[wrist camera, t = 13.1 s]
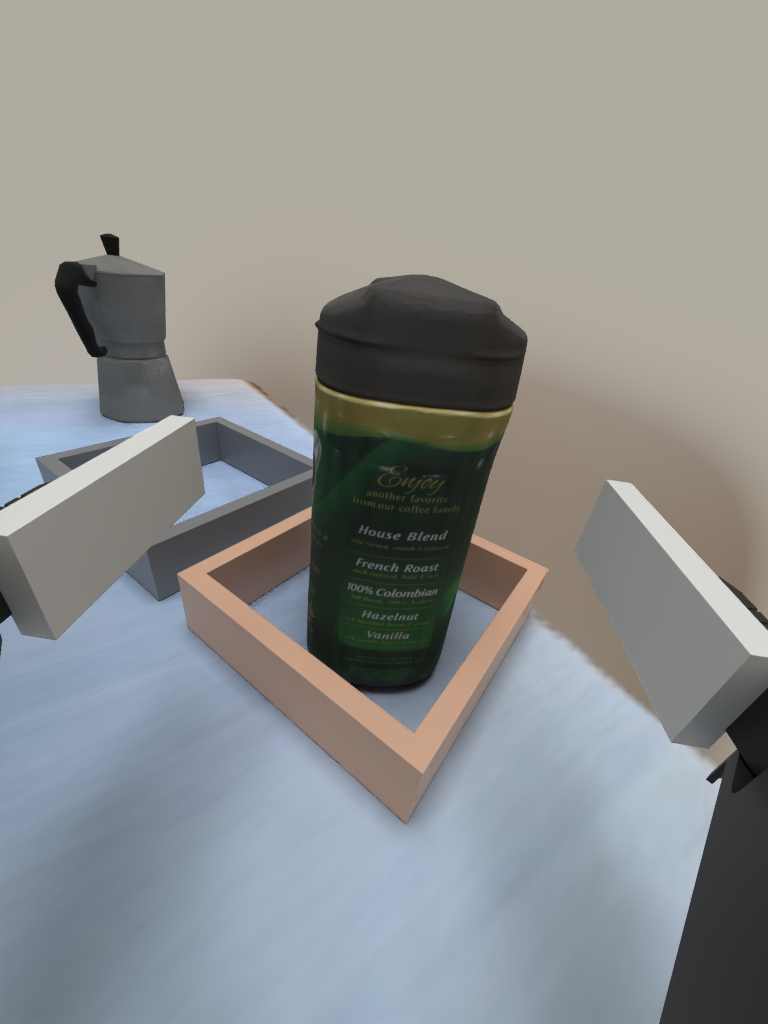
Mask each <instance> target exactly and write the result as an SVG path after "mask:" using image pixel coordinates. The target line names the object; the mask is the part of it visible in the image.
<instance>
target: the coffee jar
mask: <svg viewBox="0 0 768 1024" xmlns="http://www.w3.org/2000/svg"><path fill="white" fill-rule="evenodd" d="M315 326H316V327H317V328H318V341H317V356H316V369H315V371H316V377H315V379H316V380H315V413H314V414H315V415H314V451H313V481H312V514H311V552H310V575H309V591H308V620H307V647H308V651H309V653H310V654H312V655H313V656H314V657H316V658H317V659H318V660H319V661H321V662H322V663H323V664H325V665H326V666H327V667H329V668H330V669H331V670H332V671H334V672H335V673H336V674H338V675H339V676H340V677H342V678H343V679H344V680H345V681H347V682H350V683H354V684H360V685H367V686H399V685H406V684H411V683H414V682H417V681H419V680H421V679H423V678H425V677H426V676H427V675H429V674H430V673H431V672H432V671H433V669H434V668H435V666H436V664H437V662H438V660H439V657H440V654H441V650H442V647H443V643H444V640H445V636H446V632H447V628H448V625H449V621H450V617H451V613H452V610H453V606H454V602H455V597H456V593H457V589H458V586H459V582H460V578H461V575H462V571H463V567H464V564H465V560H466V556H467V553H468V549H469V546H470V542H471V538H472V534H473V531H474V528H475V525H476V521H477V517H478V513H479V510H480V505H481V502H482V499H483V495H484V492H485V488H486V485H487V481H488V477H489V474H490V471H491V468H492V465H493V461H494V458H495V456H496V453H497V450H498V447H499V445H500V442H501V439H502V437H503V435H504V432H505V429H506V427H507V424H508V422H509V419H510V416H511V413H512V410H513V402H514V400H515V398H516V393H517V389H518V384H519V380H520V375H521V371H522V366H523V361H524V356H525V352H526V347H527V341H528V340H527V335H526V333H525V332H524V331H523V330H522V329H521V328H520V327H519V326H517V325H516V324H515V323H514V322H512V321H511V320H510V319H509V318H507V317H506V316H505V315H504V314H503V313H502V311H501V309H500V307H499V305H498V304H497V303H496V302H495V301H493V300H491V299H489V298H487V297H484V296H481V295H479V294H476V293H474V292H471V291H469V290H467V289H464V288H462V287H460V286H457V285H455V284H453V283H451V282H448V281H446V280H444V279H441V278H437V277H433V276H428V275H404V276H396V277H387V278H377V279H375V280H374V281H373V282H372V283H371V284H370V285H368V286H366V287H363V288H360V289H357V290H354V291H352V292H349V293H347V294H344V295H342V296H339V297H338V298H336V299H334V300H332V301H330V302H329V303H328V304H326V305H325V306H324V308H323V309H322V311H321V314H320V319H319V320H318V321H317V322H316V323H315Z"/></svg>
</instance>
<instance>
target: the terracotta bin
mask: <svg viewBox="0 0 768 1024" xmlns="http://www.w3.org/2000/svg"><path fill="white" fill-rule="evenodd" d="M311 514H312V506H311V507H309V508H307V509H305V510H303V511H301V512H299V513H297V514H295V515H293V516H291V517H289V518H287V519H285V520H283V521H281V522H279V523H277V524H275V525H273V526H271V527H269V528H267V529H265V530H263V531H261V532H259V533H257V534H255V535H253V536H251V537H249V538H247V539H245V540H243V541H241V542H239V543H237V544H235V545H233V546H231V547H229V548H227V549H225V550H223V551H221V552H219V553H217V554H215V555H213V556H211V557H209V558H207V559H205V560H203V561H201V562H199V563H197V564H195V565H193V566H191V567H189V568H187V569H185V570H183V571H181V572H179V573H177V576H178V581H179V586H180V591H181V595H182V600H183V605H184V610H185V615H186V620H187V624H188V628H189V629H191V630H192V631H193V632H194V633H195V634H196V635H197V636H198V637H199V638H201V639H202V640H203V641H204V642H205V643H206V644H207V645H208V646H209V647H210V648H212V649H213V650H214V651H215V652H216V653H217V654H218V655H219V656H220V657H222V658H223V659H224V660H225V661H226V662H227V663H228V664H229V665H230V666H232V667H233V668H234V669H235V670H236V671H237V672H238V673H239V674H240V675H242V676H243V677H244V678H245V679H246V680H247V681H248V682H249V683H250V684H251V685H253V686H254V687H255V688H256V689H257V690H258V691H259V692H260V693H261V694H263V695H264V696H265V697H266V698H267V699H268V700H269V701H270V702H271V703H273V704H274V705H275V706H276V707H277V708H278V709H279V710H280V711H281V712H283V713H284V714H285V715H286V716H287V717H288V718H289V719H290V720H291V721H292V722H294V723H295V724H296V725H297V726H298V727H299V728H300V729H301V730H302V731H304V732H305V733H306V734H307V735H308V736H309V737H310V738H311V739H312V740H314V741H315V742H316V743H317V744H318V745H319V746H320V747H321V748H322V749H323V750H325V751H326V752H327V753H328V754H329V755H330V756H331V757H332V758H333V759H335V760H336V761H337V762H338V763H339V764H340V765H341V766H342V767H343V768H345V769H346V770H347V771H348V772H349V773H350V774H351V775H352V776H353V777H355V778H356V779H357V780H358V781H359V782H360V783H361V784H362V785H363V786H364V787H366V788H367V789H368V790H369V791H370V792H371V793H372V794H373V795H374V796H376V797H377V798H378V799H379V800H380V801H381V802H382V803H383V804H384V805H386V806H387V807H388V808H389V809H390V810H391V811H392V812H393V813H394V814H395V815H397V816H398V817H399V818H400V819H401V820H402V821H403V822H404V823H405V824H406V823H407V822H408V820H409V818H410V816H411V815H412V813H413V811H414V810H415V808H416V806H417V805H418V803H419V801H420V799H421V798H422V796H423V794H424V793H425V791H426V789H427V788H428V786H429V784H430V782H431V781H432V779H433V777H434V776H435V774H436V772H437V771H438V769H439V767H440V765H441V764H442V762H443V760H444V759H445V757H446V755H447V754H448V752H449V750H450V748H451V747H452V745H453V743H454V742H455V740H456V738H457V737H458V735H459V733H460V732H461V730H462V728H463V726H464V725H465V723H466V721H467V720H468V718H469V716H470V715H471V713H472V711H473V709H474V708H475V706H476V704H477V703H478V701H479V699H480V698H481V696H482V694H483V692H484V691H485V689H486V687H487V686H488V684H489V682H490V681H491V679H492V677H493V675H494V674H495V672H496V670H497V669H498V667H499V665H500V664H501V662H502V660H503V658H504V657H505V655H506V653H507V652H508V650H509V648H510V647H511V645H512V643H513V642H514V640H515V638H516V636H517V635H518V633H519V631H520V630H521V628H522V626H523V625H524V623H525V621H526V619H527V618H528V616H529V614H530V612H531V609H532V607H533V605H534V603H535V600H536V598H537V596H538V593H539V591H540V589H541V586H542V584H543V582H544V579H545V577H546V575H547V573H548V570H549V569H547V568H545V567H543V566H541V565H538V564H536V563H534V562H532V561H530V560H528V559H526V558H523V557H521V556H519V555H517V554H515V553H513V552H511V551H508V550H506V549H504V548H502V547H500V546H498V545H495V544H493V543H491V542H489V541H487V540H485V539H482V538H480V537H478V536H476V535H474V534H472V538H471V542H470V546H469V549H468V553H467V556H466V560H465V564H464V567H463V571H462V575H461V578H460V582H459V586H458V588H459V589H461V590H463V591H464V592H466V593H468V594H470V595H472V596H474V597H476V598H477V599H479V600H481V601H483V602H485V603H487V604H489V605H490V606H492V607H494V608H496V609H498V610H499V612H498V613H497V615H496V616H495V618H494V619H493V620H492V622H491V623H490V625H489V626H488V628H487V629H486V631H485V632H484V633H483V635H482V636H481V638H480V639H479V641H478V642H477V643H476V645H475V646H474V648H473V649H472V651H471V652H470V654H469V655H468V656H467V658H466V659H465V661H464V662H463V664H462V665H461V666H460V668H459V669H458V671H457V672H456V674H455V675H454V677H453V678H452V679H451V681H450V682H449V684H448V685H447V687H446V688H445V689H444V691H443V692H442V694H441V695H440V697H439V698H438V700H437V701H436V702H435V704H434V705H433V707H432V708H431V710H430V711H429V713H428V714H427V715H426V717H425V718H424V720H423V721H422V723H421V724H420V725H419V727H418V728H417V730H416V731H415V733H413V732H412V731H410V730H409V729H408V728H406V727H405V726H404V725H403V724H401V723H400V722H399V721H397V720H396V719H395V718H393V717H392V716H391V715H390V714H388V713H387V712H386V711H384V710H383V709H382V708H380V707H379V706H378V705H377V704H375V703H374V702H373V701H371V700H370V699H369V698H367V697H366V696H365V695H364V694H362V693H361V692H360V691H358V690H357V689H356V688H354V687H353V686H352V685H351V684H349V683H348V682H347V681H345V680H344V679H343V678H342V677H340V676H339V675H338V674H336V673H335V672H334V671H332V670H331V669H330V668H329V667H327V666H326V665H325V664H323V663H322V662H321V661H319V660H318V659H317V658H316V657H314V656H313V655H312V654H310V653H309V652H308V651H306V650H305V649H304V648H303V647H301V646H300V645H299V644H297V643H296V642H295V641H293V640H292V639H291V638H290V637H288V636H287V635H286V634H284V633H283V632H282V631H280V630H279V629H278V628H277V627H275V626H274V625H273V624H271V623H270V622H269V621H267V620H266V619H265V618H264V617H262V616H261V615H260V614H258V613H257V612H256V611H255V610H253V609H252V608H251V607H249V606H248V604H250V603H251V602H253V601H255V600H256V599H258V598H259V597H261V596H262V595H264V594H265V593H267V592H269V591H270V590H272V589H273V588H275V587H276V586H278V585H279V584H281V583H283V582H284V581H286V580H287V579H289V578H290V577H292V576H293V575H295V574H297V573H298V572H300V571H301V570H303V569H304V568H306V567H307V566H309V565H310V552H311Z"/></svg>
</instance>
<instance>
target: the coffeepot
mask: <svg viewBox="0 0 768 1024" xmlns="http://www.w3.org/2000/svg"><path fill="white" fill-rule="evenodd" d="M100 237H101V240H102V242H103V245H104V248H105V250H106V253H107V255H104V256H99V257H94V258H89V259H85V260H80V261H76V262H63V263H62V264H60V265H59V269H58V272H57V275H56V279H55V287H56V291H57V294H58V296H59V298H60V300H61V302H62V303H63V305H64V307H65V309H66V311H67V312H68V314H69V317H70V318H71V320H72V322H73V325H74V327H75V329H76V331H77V332H78V334H79V336H80V338H81V340H82V342H83V344H84V345H85V347H86V349H87V352H88V353H89V354H90V355H91V356H92V357H97V366H98V383H99V398H100V413H101V414H102V415H104V416H106V417H107V418H110V419H112V420H116V421H121V422H129V423H150V422H159V421H161V420H163V419H165V418H167V417H169V416H170V415H175V416H179V415H181V414H182V413H183V411H184V409H183V406H184V403H183V400H182V397H181V394H180V390H179V387H178V384H177V381H176V379H175V376H174V373H173V369H172V367H171V363H170V360H169V357H168V355H166V354H165V353H166V350H165V345H164V340H165V338H166V320H165V319H166V318H165V273H164V272H161V271H159V270H156V269H153V268H151V267H148V266H145V265H143V264H140V263H137V262H135V261H132V260H129V259H127V258H124V257H121V256H119V238H118V237H116V236H114V235H112V234H103V235H100Z"/></svg>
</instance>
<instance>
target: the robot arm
mask: <svg viewBox="0 0 768 1024" xmlns="http://www.w3.org/2000/svg"><path fill="white" fill-rule="evenodd" d="M204 494H205V489H204V482H203V475H202V468H201V461H200V453H199V446H198V439H197V432H196V425H195V418H189V417H182V416H175V415H170V416H169V417H167V418H165V419H163V420H161V421H160V422H158V423H156V424H154V425H152V426H151V427H149V428H147V429H145V430H144V431H142V432H140V433H138V434H136V435H135V436H133V437H131V438H129V439H127V440H126V441H124V442H122V443H120V444H118V445H117V446H115V447H113V448H111V449H110V450H108V451H106V452H104V453H102V454H101V455H99V456H97V457H95V458H93V459H92V460H90V461H88V462H86V463H85V464H83V465H81V466H79V467H77V468H76V469H74V470H72V471H70V472H68V473H67V474H65V475H63V476H61V477H59V478H58V479H56V480H53V481H50V482H47V483H44V484H41V485H39V486H37V487H35V488H33V489H32V490H30V491H28V492H26V493H24V494H22V495H21V497H20V498H15V499H13V500H12V501H10V502H8V503H6V504H5V506H4V507H0V624H1V623H2V622H3V621H4V620H5V619H7V618H8V617H9V616H10V615H12V617H13V619H14V621H15V623H16V625H17V627H18V629H19V631H20V632H21V634H22V635H27V636H33V637H39V638H45V639H51V640H57V639H58V638H59V637H60V636H61V635H62V634H63V633H64V632H65V631H66V630H67V629H68V628H69V627H70V626H71V625H72V624H73V623H74V622H75V621H76V620H77V619H78V618H79V617H80V616H81V615H82V614H83V613H84V612H85V611H86V610H87V609H88V608H89V607H90V606H91V605H92V604H93V603H94V602H95V601H96V600H97V599H98V598H99V597H100V596H101V595H102V594H103V593H104V592H105V591H106V590H107V589H108V588H109V587H110V586H111V585H112V584H114V583H115V582H116V581H117V580H118V579H119V578H120V577H121V576H122V575H123V574H124V573H125V572H126V571H127V570H128V569H129V568H130V567H131V566H132V565H133V564H134V563H135V562H136V561H137V560H138V559H139V558H140V557H141V556H142V555H143V554H144V553H145V552H146V551H147V550H148V549H149V548H150V547H151V546H152V545H153V544H154V543H155V542H156V541H157V540H158V539H159V538H160V537H161V536H162V535H163V534H164V533H165V532H166V531H167V530H168V529H169V528H170V527H171V526H172V525H173V524H174V523H175V522H176V521H177V520H178V519H179V518H180V517H181V516H182V515H183V514H184V513H185V512H186V511H187V510H189V509H190V508H191V507H192V506H193V505H194V504H195V503H196V502H197V501H198V500H199V499H200V498H201V497H202V496H203V495H204ZM574 551H575V553H576V555H577V557H578V559H579V561H580V563H581V565H582V567H583V569H584V571H585V573H586V575H587V577H588V579H589V581H590V582H591V585H592V587H593V589H594V590H595V593H596V594H597V597H598V598H599V600H600V602H601V604H602V606H603V608H604V610H605V612H606V614H607V616H608V618H609V620H610V622H611V624H612V626H613V628H614V630H615V632H616V634H617V636H618V638H619V640H620V642H621V644H622V646H623V648H624V650H625V652H626V654H627V656H628V658H629V660H630V662H631V664H632V666H633V668H634V670H635V672H636V674H637V676H638V678H639V679H640V681H641V684H642V686H643V688H644V690H645V692H646V694H647V696H648V698H649V700H650V702H651V703H652V706H653V708H654V710H655V712H656V714H657V716H658V718H659V720H660V721H661V723H662V725H663V727H664V729H665V731H666V733H667V735H668V737H669V739H670V741H671V742H672V743H678V744H684V745H690V746H696V747H702V748H710V747H711V746H712V745H713V744H714V743H715V742H716V741H717V740H718V739H719V738H720V737H721V736H722V735H723V734H724V733H725V732H727V733H728V735H729V737H730V738H731V740H732V741H733V743H734V744H735V746H736V748H737V750H736V751H735V752H733V753H732V754H731V755H730V756H729V757H728V758H727V759H726V760H725V761H724V762H723V763H721V764H720V765H719V766H718V767H717V768H716V769H715V770H714V771H713V772H712V773H711V774H710V775H709V776H708V777H707V779H706V780H707V781H709V782H710V783H712V784H713V783H714V782H715V781H716V780H717V779H718V778H722V781H721V785H720V789H719V793H718V797H717V801H716V805H715V808H714V812H713V816H712V820H711V824H710V828H709V832H708V836H707V840H706V844H705V847H704V851H703V855H702V859H701V863H700V867H699V871H698V875H697V879H696V883H695V886H694V890H693V894H692V898H691V902H690V906H689V910H688V914H687V918H686V921H685V925H684V929H683V933H682V937H681V941H680V945H679V949H678V953H677V957H676V960H675V964H674V968H673V972H672V976H671V980H670V984H669V988H668V992H667V996H666V999H665V1003H664V1007H663V1011H662V1015H661V1019H660V1023H659V1024H768V620H767V619H766V618H765V617H764V616H763V615H762V614H761V613H760V612H757V608H756V607H755V606H754V605H753V604H752V603H751V602H750V601H749V600H748V599H747V598H746V597H745V596H744V595H743V594H742V592H740V591H739V590H737V589H736V588H735V587H733V586H732V585H730V584H729V583H728V582H726V581H725V580H723V579H722V578H720V577H718V576H716V575H715V573H714V572H713V571H712V570H711V569H710V568H709V567H708V566H707V565H706V564H705V563H704V561H703V560H702V559H701V558H700V557H699V556H698V555H697V554H696V553H695V552H694V551H693V550H692V548H690V546H689V545H688V544H687V543H686V542H685V541H684V540H683V539H682V538H681V537H680V536H679V534H678V533H677V532H676V531H675V530H674V529H673V528H672V527H671V526H670V525H669V524H668V523H667V522H666V521H665V519H664V518H663V517H662V516H661V515H660V514H659V513H658V512H657V511H656V510H655V509H654V507H653V506H652V505H651V504H650V503H649V502H648V501H647V500H646V499H645V498H644V497H643V496H642V495H641V494H640V492H639V491H638V490H637V489H636V488H635V487H634V486H633V485H632V484H631V483H625V482H619V481H612V480H606V482H605V484H604V486H603V488H602V490H601V493H600V495H599V497H598V499H597V501H596V503H595V506H594V508H593V510H592V512H591V514H590V516H589V519H588V521H587V523H586V525H585V527H584V529H583V532H582V534H581V536H580V538H579V540H578V543H577V545H576V547H575V549H574ZM1 645H2V638H1V635H0V654H1Z"/></svg>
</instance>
